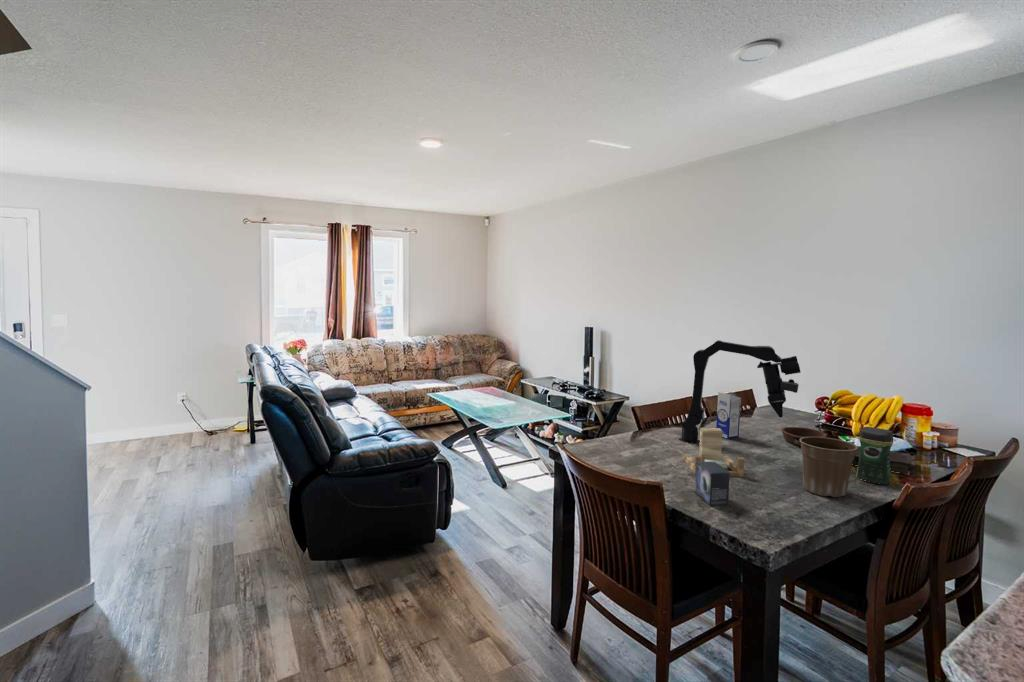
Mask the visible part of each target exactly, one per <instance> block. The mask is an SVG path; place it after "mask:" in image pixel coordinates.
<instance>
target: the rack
mask: <svg viewBox="0 0 1024 682" xmlns="http://www.w3.org/2000/svg"><path fill="white" fill-rule="evenodd" d="M684 461H685V462H686V464H687V465H688V467H689V468H690V469H691V471H692V472H693V474H694V475H695V476H696V466H697V462H701V457H700V456H699V455H694V458H693V459H692V457H691V456H690V454H684ZM723 461H725V462H726V463H727V467H728V468H729V469H731V470H728V472H730V477H741V478H744V471H745V470H744V469H745V458H744V457H742V456H741V457H739V456H738V457H737V458H736V463H735V462H734V461H733V460H732V459H731V458H730V457H729V456H727V455H724V456H723Z"/></svg>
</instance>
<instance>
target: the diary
mask: <svg viewBox="0 0 1024 682" xmlns="http://www.w3.org/2000/svg"><path fill="white" fill-rule="evenodd" d="M856 446H857V447H858V449H857V450H856V451H855V456H854V460H853V461H852V464H853V465H858V463H859V457H860V450H861V445H860V446H859V445H856ZM909 465H913V464H912V457H911V453H908V452H901V451H892V450H890V471H894V472H900V473H906V474H907V473H908V470H909Z"/></svg>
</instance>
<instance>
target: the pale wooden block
mask: <svg viewBox="0 0 1024 682" xmlns="http://www.w3.org/2000/svg"><path fill="white" fill-rule="evenodd" d="M699 429H700V431H699V440H700V442H699V449H698V450H699V451H698V456H700V457H701V462H704V459H705V460H721V461H722V449H723V448H722V447H723V438H722V433H723V431H722V430H721V429H720V428H715V427H700V428H699Z"/></svg>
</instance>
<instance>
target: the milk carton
mask: <svg viewBox="0 0 1024 682" xmlns="http://www.w3.org/2000/svg"><path fill="white" fill-rule="evenodd" d="M741 403H742V397H739V396H737V394H736V393H734V392H728V393H724V392H720V391H719V392H717V406H716V407H717V408H716V409H717V410H716V425H715V427H716V428H720V429H721V430H722V431H723V433H722V437H724V438H723V439H725V438H727V439H726V440H729V439H728V438H734V439H737V438H736V437H740V436H739V435H740V421H741Z"/></svg>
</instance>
